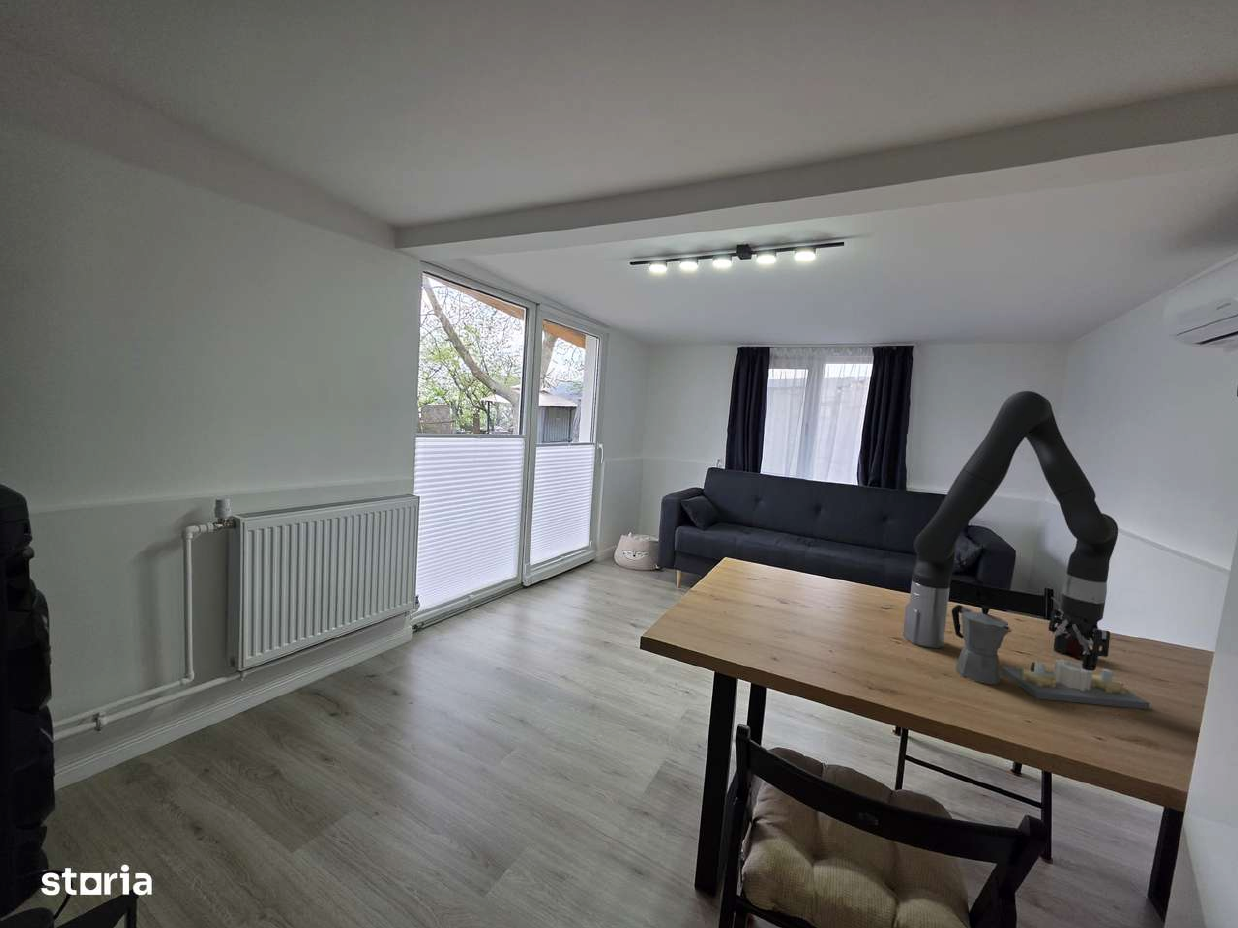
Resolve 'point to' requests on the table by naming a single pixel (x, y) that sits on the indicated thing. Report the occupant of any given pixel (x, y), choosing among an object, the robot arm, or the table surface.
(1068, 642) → the mate gourd
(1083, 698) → the gear board
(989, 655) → the coffeepot
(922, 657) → the table surface
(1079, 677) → the ivory gear
